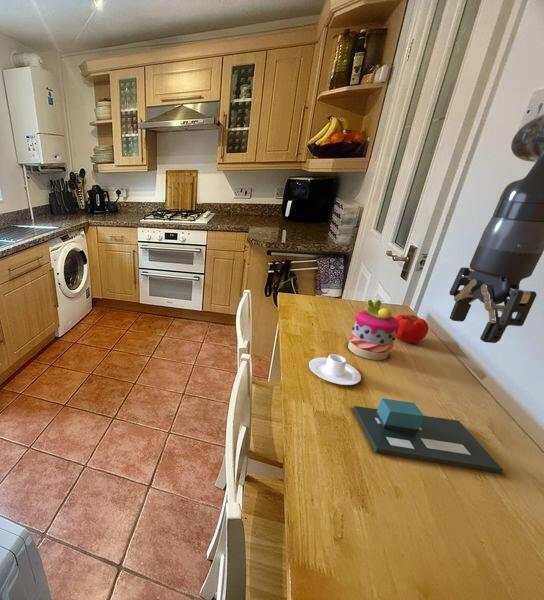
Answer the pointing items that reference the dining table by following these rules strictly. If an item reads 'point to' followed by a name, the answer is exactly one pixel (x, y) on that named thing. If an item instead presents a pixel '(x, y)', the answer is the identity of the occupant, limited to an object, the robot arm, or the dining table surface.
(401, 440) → the chalkboard
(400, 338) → the tomato
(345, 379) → the candle holder
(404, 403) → the eraser
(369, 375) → the dining table surface
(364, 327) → the cake
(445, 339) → the dining table surface
